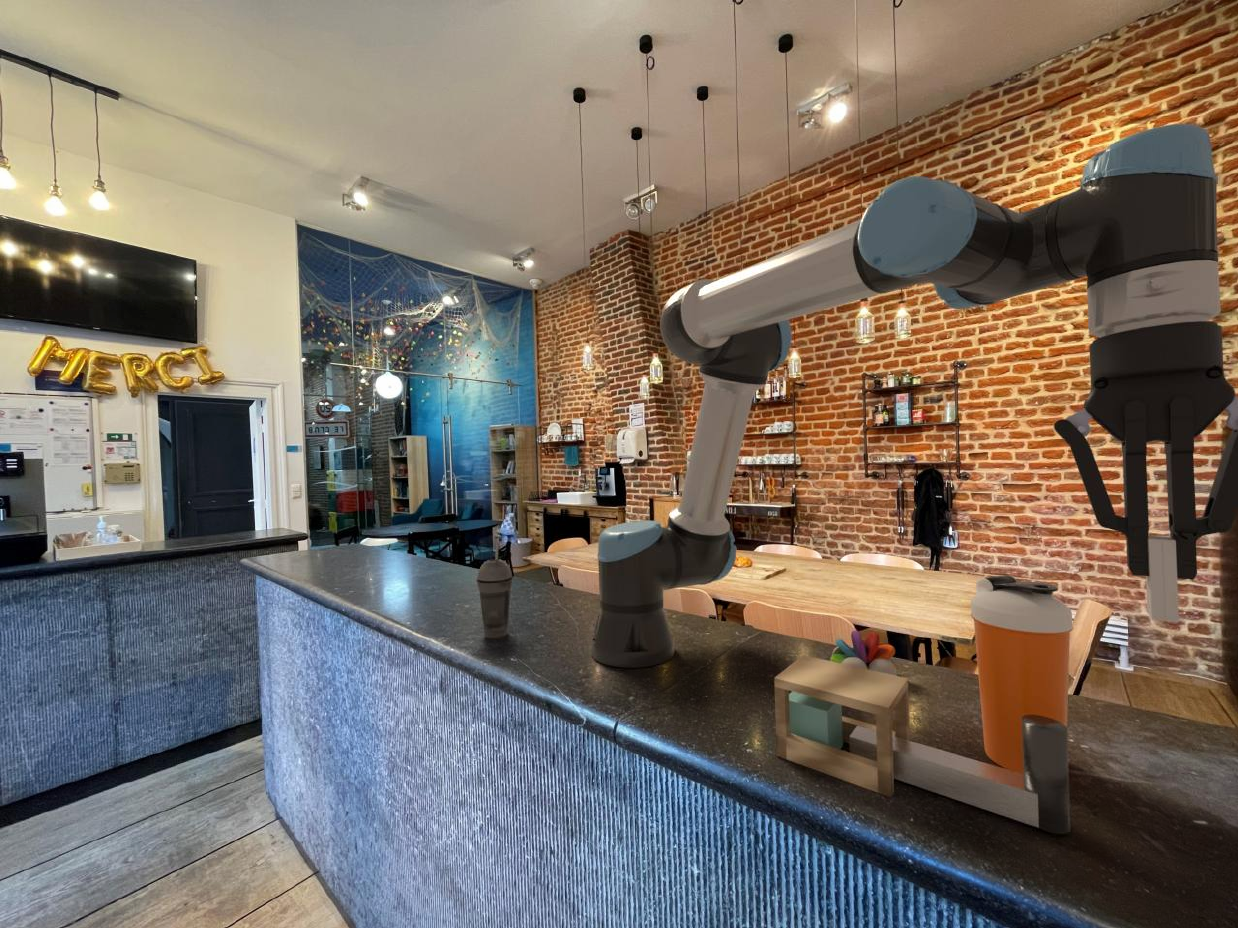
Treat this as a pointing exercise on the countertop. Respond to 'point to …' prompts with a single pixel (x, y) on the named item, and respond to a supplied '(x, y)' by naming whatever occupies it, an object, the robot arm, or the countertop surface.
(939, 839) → the countertop surface
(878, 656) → the rainbow segmented toy
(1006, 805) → the hammer
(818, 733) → the block
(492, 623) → the beverage cup
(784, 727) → the tunnel
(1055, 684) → the shaker bottle
